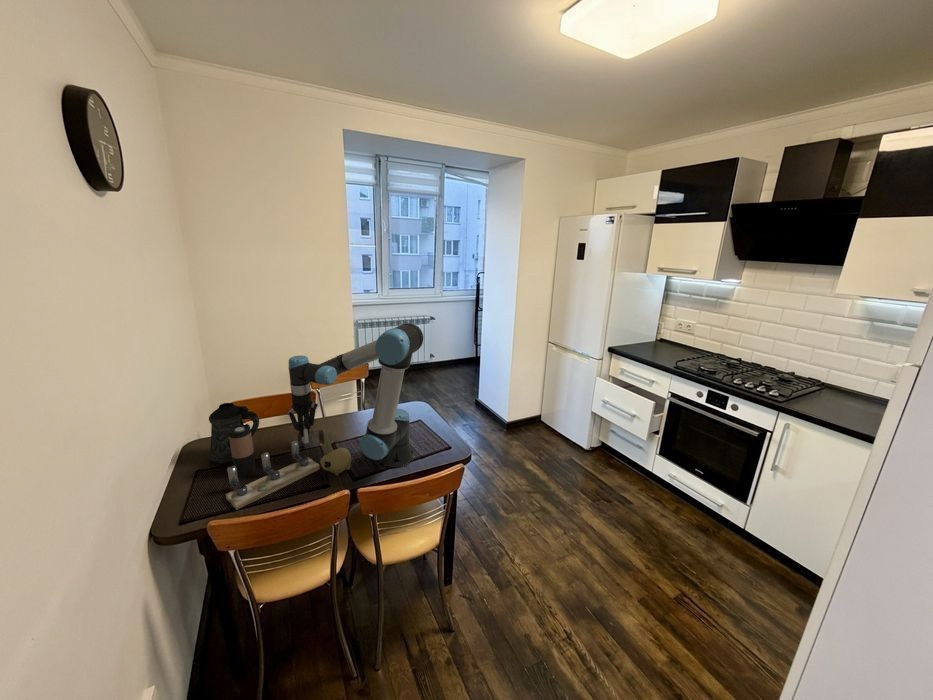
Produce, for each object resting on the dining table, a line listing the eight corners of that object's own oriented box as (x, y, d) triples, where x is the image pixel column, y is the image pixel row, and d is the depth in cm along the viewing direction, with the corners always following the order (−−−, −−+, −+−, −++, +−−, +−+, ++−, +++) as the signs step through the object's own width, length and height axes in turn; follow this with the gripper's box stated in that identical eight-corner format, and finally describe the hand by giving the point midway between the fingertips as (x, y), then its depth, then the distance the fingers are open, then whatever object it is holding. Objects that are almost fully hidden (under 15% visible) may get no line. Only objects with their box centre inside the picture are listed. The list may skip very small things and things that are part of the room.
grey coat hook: (310, 463, 152) (308, 448, 150) (303, 467, 149) (301, 451, 147) (297, 455, 158) (296, 439, 155) (290, 458, 155) (288, 442, 153)
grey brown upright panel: (298, 450, 166) (296, 432, 163) (298, 447, 168) (296, 428, 166) (325, 446, 170) (323, 427, 168) (324, 442, 173) (323, 424, 170)
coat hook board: (319, 469, 153) (319, 463, 152) (236, 509, 128) (235, 503, 127) (308, 460, 158) (307, 455, 157) (226, 498, 133) (225, 492, 133)
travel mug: (241, 479, 144) (233, 434, 138) (231, 472, 148) (223, 429, 142) (260, 470, 150) (254, 427, 145) (250, 463, 154) (243, 421, 148)
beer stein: (204, 456, 158) (194, 404, 151) (253, 440, 172) (246, 392, 164) (215, 473, 147) (205, 418, 140) (266, 455, 161) (259, 403, 154)
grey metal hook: (281, 477, 143) (279, 460, 140) (273, 481, 140) (271, 464, 138) (269, 467, 148) (267, 451, 146) (261, 471, 146) (259, 454, 144)
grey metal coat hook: (249, 492, 133) (246, 475, 131) (239, 497, 131) (236, 479, 129) (237, 481, 139) (234, 464, 137) (228, 485, 137) (225, 468, 135)
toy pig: (318, 470, 152) (316, 448, 149) (347, 461, 158) (346, 440, 155) (325, 483, 144) (323, 459, 141) (354, 473, 151) (353, 451, 148)
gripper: (310, 385, 158) (314, 433, 165) (281, 394, 148) (286, 444, 155) (320, 390, 154) (323, 439, 161) (290, 399, 144) (295, 451, 151)
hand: (305, 441), depth 158 cm, fingers closed
